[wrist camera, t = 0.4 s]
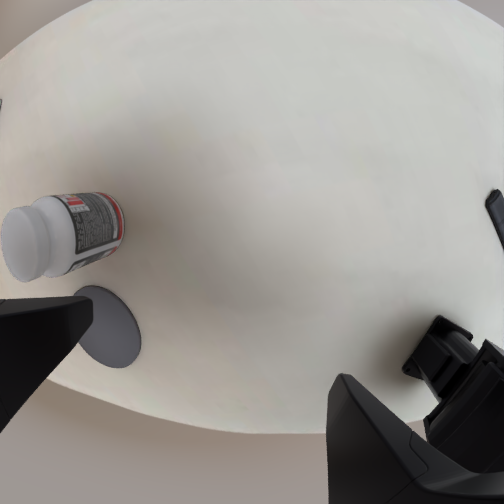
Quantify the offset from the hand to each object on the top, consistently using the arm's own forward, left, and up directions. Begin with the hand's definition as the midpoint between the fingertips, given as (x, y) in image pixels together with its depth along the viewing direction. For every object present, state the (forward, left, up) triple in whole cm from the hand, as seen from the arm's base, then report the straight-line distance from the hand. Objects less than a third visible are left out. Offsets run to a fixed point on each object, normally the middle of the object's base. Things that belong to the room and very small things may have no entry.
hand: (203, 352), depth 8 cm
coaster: (+10, +13, -13) cm, 21 cm away
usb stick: (-22, -14, -13) cm, 29 cm away
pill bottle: (+13, +3, -13) cm, 19 cm away
